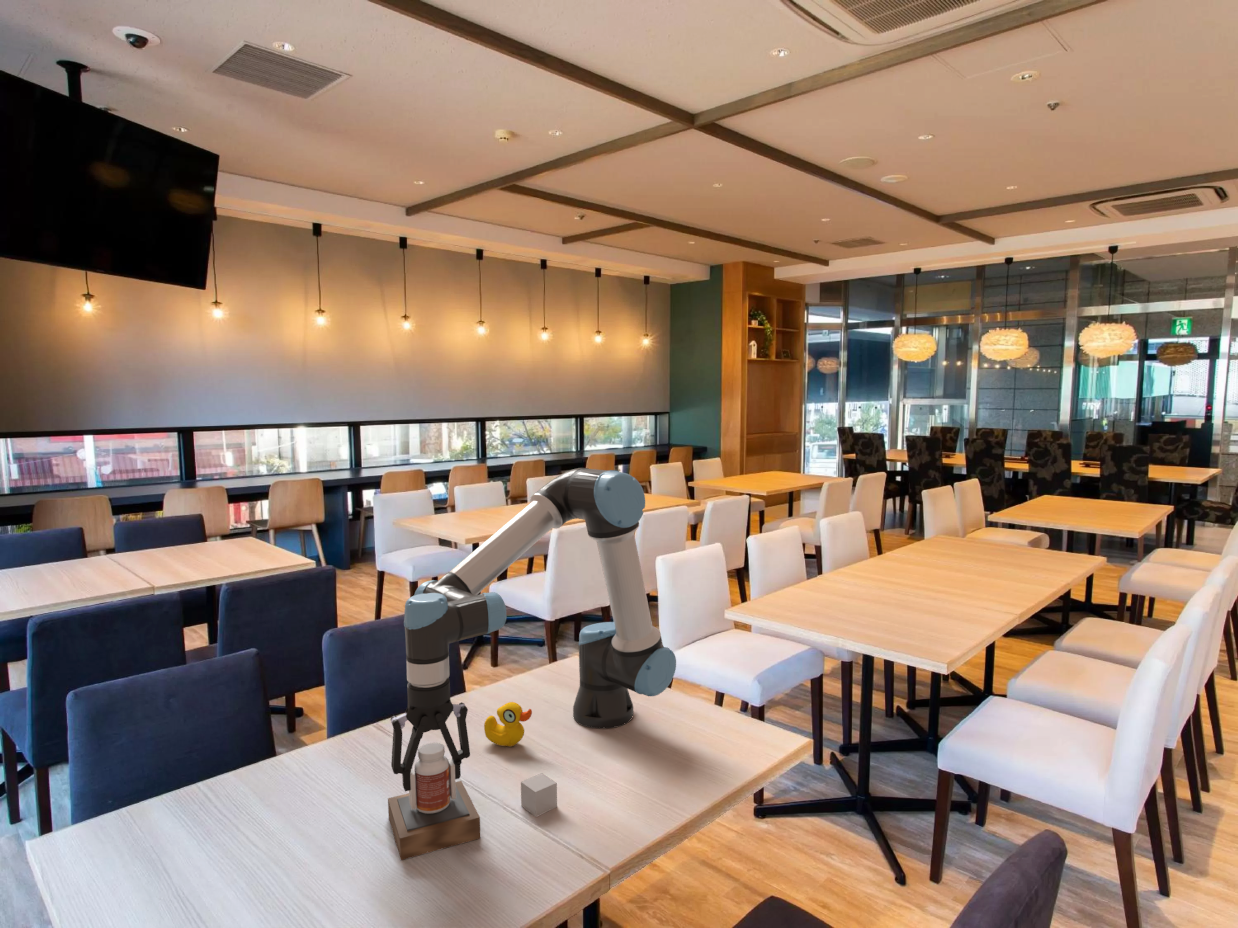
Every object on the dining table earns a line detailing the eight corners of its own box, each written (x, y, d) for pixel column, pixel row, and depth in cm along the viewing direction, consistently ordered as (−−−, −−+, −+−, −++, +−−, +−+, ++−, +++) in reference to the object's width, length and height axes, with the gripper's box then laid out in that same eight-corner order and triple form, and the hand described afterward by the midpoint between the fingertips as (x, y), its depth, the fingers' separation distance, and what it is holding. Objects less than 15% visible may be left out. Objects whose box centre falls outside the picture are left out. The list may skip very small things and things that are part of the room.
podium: (461, 799, 143) (461, 778, 143) (480, 837, 130) (479, 815, 130) (388, 818, 137) (387, 796, 136) (400, 860, 124) (399, 836, 124)
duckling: (536, 741, 167) (535, 699, 166) (528, 752, 162) (528, 709, 161) (489, 737, 169) (488, 696, 168) (481, 748, 164) (479, 705, 163)
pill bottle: (455, 808, 132) (453, 750, 131) (422, 818, 129) (420, 759, 128) (443, 792, 138) (441, 737, 137) (411, 802, 134) (409, 745, 133)
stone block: (542, 796, 144) (541, 772, 144) (557, 807, 140) (556, 782, 140) (521, 805, 141) (520, 781, 140) (535, 816, 137) (535, 791, 137)
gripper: (475, 663, 139) (479, 778, 141) (369, 682, 130) (374, 803, 132) (486, 677, 132) (489, 796, 134) (375, 697, 123) (380, 824, 126)
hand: (432, 799), depth 133 cm, fingers open, 6 cm apart
